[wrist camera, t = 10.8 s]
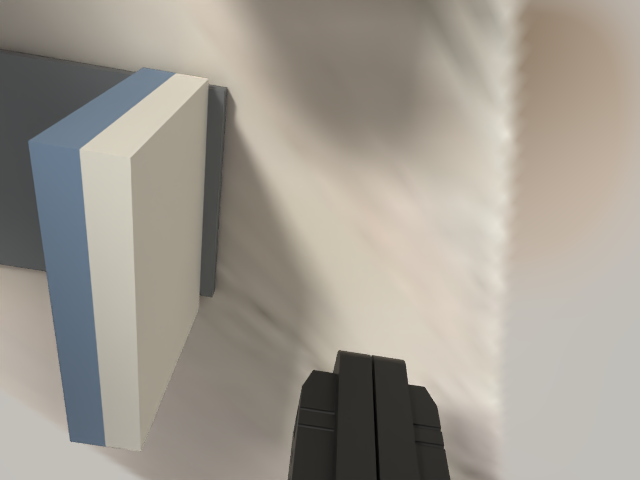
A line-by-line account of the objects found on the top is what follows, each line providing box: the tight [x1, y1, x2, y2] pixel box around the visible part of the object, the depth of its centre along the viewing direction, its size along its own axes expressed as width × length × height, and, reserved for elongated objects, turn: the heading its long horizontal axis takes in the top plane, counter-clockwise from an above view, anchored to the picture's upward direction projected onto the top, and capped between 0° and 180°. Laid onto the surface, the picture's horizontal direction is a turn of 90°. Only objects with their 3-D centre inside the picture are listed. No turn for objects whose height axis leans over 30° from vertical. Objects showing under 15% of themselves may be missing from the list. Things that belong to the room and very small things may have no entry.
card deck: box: [28, 68, 209, 452], centre depth 15 cm, size 6×2×9 cm
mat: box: [0, 49, 227, 297], centre depth 18 cm, size 8×12×1 cm, turn 81°
